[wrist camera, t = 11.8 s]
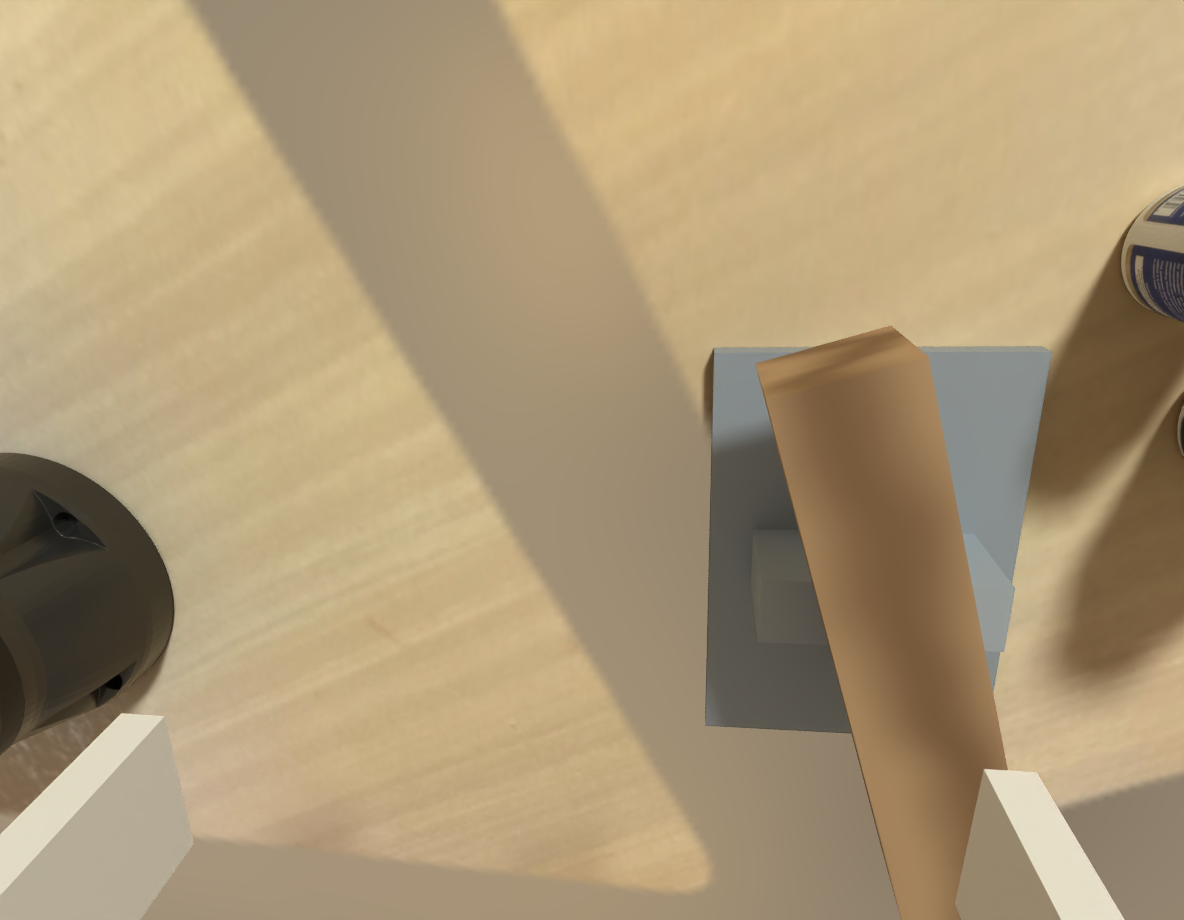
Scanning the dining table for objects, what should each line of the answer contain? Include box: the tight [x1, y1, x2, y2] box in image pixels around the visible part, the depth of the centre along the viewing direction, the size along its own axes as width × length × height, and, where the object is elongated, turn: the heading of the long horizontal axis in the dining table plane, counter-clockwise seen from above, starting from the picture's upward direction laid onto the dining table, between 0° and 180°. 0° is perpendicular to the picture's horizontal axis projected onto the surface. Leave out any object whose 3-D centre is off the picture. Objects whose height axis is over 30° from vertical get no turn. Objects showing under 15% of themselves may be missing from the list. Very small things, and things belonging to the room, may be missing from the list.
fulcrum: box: [705, 347, 1052, 733], centre depth 36 cm, size 14×20×6 cm
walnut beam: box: [755, 326, 1008, 920], centre depth 31 cm, size 5×24×5 cm, turn 18°
